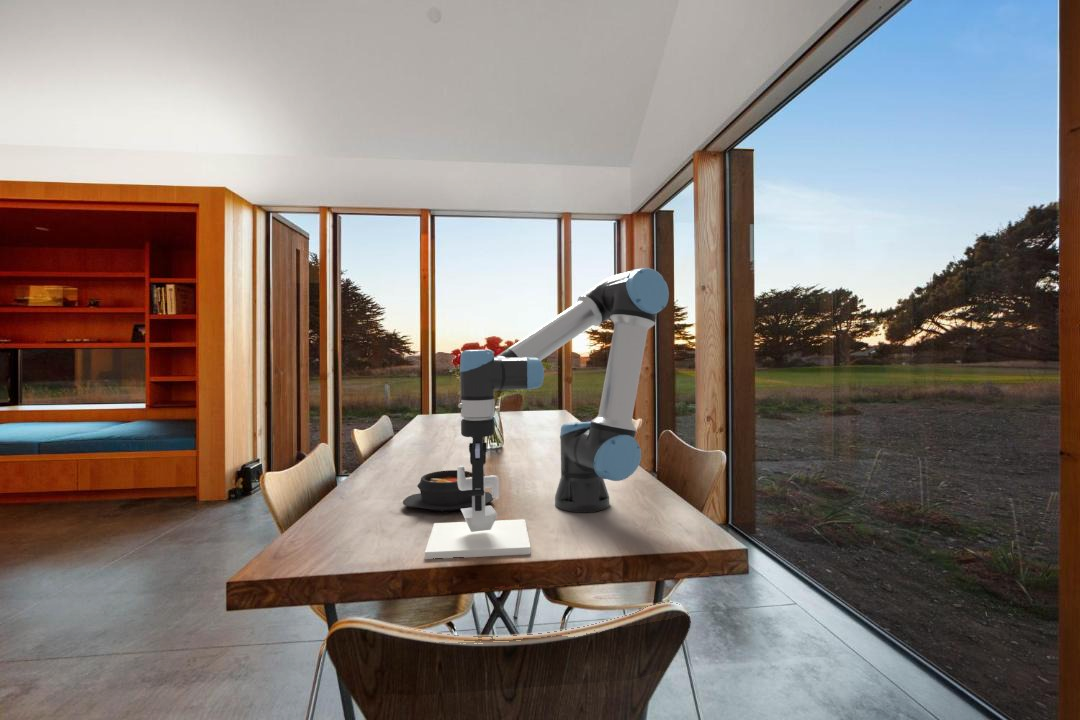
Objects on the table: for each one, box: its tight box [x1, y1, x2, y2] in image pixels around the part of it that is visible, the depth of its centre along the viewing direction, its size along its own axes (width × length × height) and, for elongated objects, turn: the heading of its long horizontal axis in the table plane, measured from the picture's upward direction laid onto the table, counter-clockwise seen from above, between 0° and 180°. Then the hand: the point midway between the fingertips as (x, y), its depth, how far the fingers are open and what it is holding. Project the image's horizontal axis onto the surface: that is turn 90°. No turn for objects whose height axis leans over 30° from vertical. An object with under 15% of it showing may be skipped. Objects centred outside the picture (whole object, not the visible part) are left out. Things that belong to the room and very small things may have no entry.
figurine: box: [456, 463, 500, 532], centre depth 117 cm, size 7×9×15 cm
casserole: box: [402, 469, 494, 512], centre depth 144 cm, size 25×19×8 cm
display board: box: [424, 519, 532, 560], centre depth 117 cm, size 22×18×2 cm
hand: (479, 517), depth 117 cm, fingers closed on figurine, 8 cm apart
